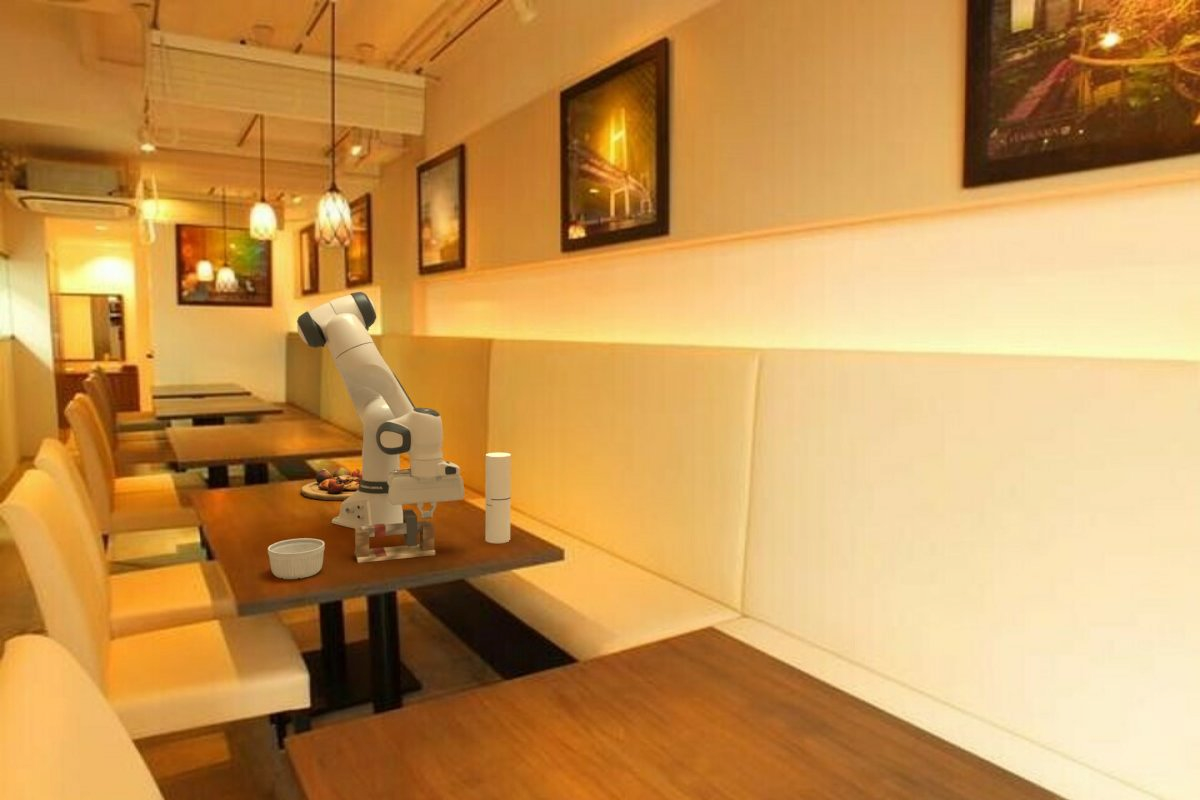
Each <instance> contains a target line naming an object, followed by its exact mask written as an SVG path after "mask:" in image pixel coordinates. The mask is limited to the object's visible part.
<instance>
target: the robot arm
mask: <svg viewBox="0 0 1200 800" xmlns="http://www.w3.org/2000/svg"><path fill="white" fill-rule="evenodd" d="M376 320H377V309H376V306H375V303H374V302H373V300H372V299H371V298H370V297H369V296H368V295H367V294H366V293H364V292H363V291H358V292H352V293H350V294H349V295H344V296H341V297H337V298H334V299H332V300H329V301H328V302H325V303H323V304H321V305H319V306H317V307H315V308H313V309H311V310H310V311H308V310H306V311H305V312H303V313H302V314H301V315H299V316H298V317H297V320H296V323H297V326H296V327H297V332H298V335H299V337H300V339H301V340H302V341H303V342H304V343H305V344H306V345H307V346H308V347H311V348H314V349H315V348H325V345H327V348H328V350H329V353H330V356H331V358H332V361H333V363H334V365H335V368H336V370H337V371H338V374H339V375H340V377H341V380H342V382H343V384H344V385H345V388H346V390H347V393H348V394H349V397H350V399H351V403H352V405H353V406H354V408H355V411H356V413H357V415H358V417H359V420H360V421H361V423H362V425H363V426H362V427H363V437H362V438H363V440H362V452H361V463H362V464H361V465H362V466H361V469H362V470H361V471H362V479H360V480H358V481H355V482H358V483H356V484H355V485H357V484H359V486H358V490H357V491H356V492H355V493H353V494H352V495H351V496H350V497H348V498H347V499H346V500H342V503H341V504H340V508H339V515H338V516H335V517H333V518H332V519H331V523H332V524H335V525H338V526H343V527H346V528H350V529H354V530H355V528H359V527H361V526H372V525H376V524H396V523H403V505H411V504H416V507H417V509H418V510H419V511H420V518H421V519H422V520H424V519H425V520H426V519H433V517H434V516H433V515H434V514H433V513H434V511H435V509H436V508H437V504H438V502H452V501H462V500H463V499H464V497H465V487H464V479H463V477H462V476H461V475H460V474H461V467H460V466H459V465H458V464H456V463H454V462H450V461H445V460H444V454H443V451H442V448H443V447H442V446H443V443H444V428H443V420H442V416H441V414H440V413H439V412H438V411H437V410H435V409H432V408H427V407H416V406H415V405H414V403H413V401H412V399H411V397H409V394H408V392H407V391H406V390H405V388H404V386H403V385H402V383H401V382H400V380H399V378H398V376H397V375H396V374H395V373H394V371H393V370H392V369H391V368H390V366H389V365H388V364H387V363H386V361H385V360H384V358H383V357H382V355H381V353H380V351H379V350H378V348H377V346H376V344H375V342H374V340H373V338H372V336H371V335H370V333H369V330H370V328H371V327H372V325H374V323H376ZM400 454H408V455H409V468H405V469H404V468H403V469H400ZM424 503H425V504H426V503H429V504H430V508H429V509H428V510H423V507H424Z"/></svg>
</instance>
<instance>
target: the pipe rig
mask: <svg viewBox="0 0 1200 800" xmlns="http://www.w3.org/2000/svg"><path fill="white" fill-rule="evenodd" d="M418 533H419V544H418V543H417V546H411V547H408V546H407V544H405V545H398V546H396V545H395V546H387V547H385V546H384V547H383V546H382V547H381V546H380V547H373V548H370V538H372V537H374V538H380V537H387V536H396V535H403V534H407V523H396V524H376V525H372V526H361V527H359V528H355V529H354V536H355V537H354V539H355V540H354V541H355V542H354V543H355V544H354V546H355V547H354V548H355V550H354V556H355V559H356V561H357V563H358V564H359V563H360V564H361V563H368V562H369V563H371V562H378V561H388V560H399V559H407V558H409V559H410V558H419V557H427V556H436V550H435V525H434V523H432V521H427V520H422V521H419V520H418V521H417V534H418Z"/></svg>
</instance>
